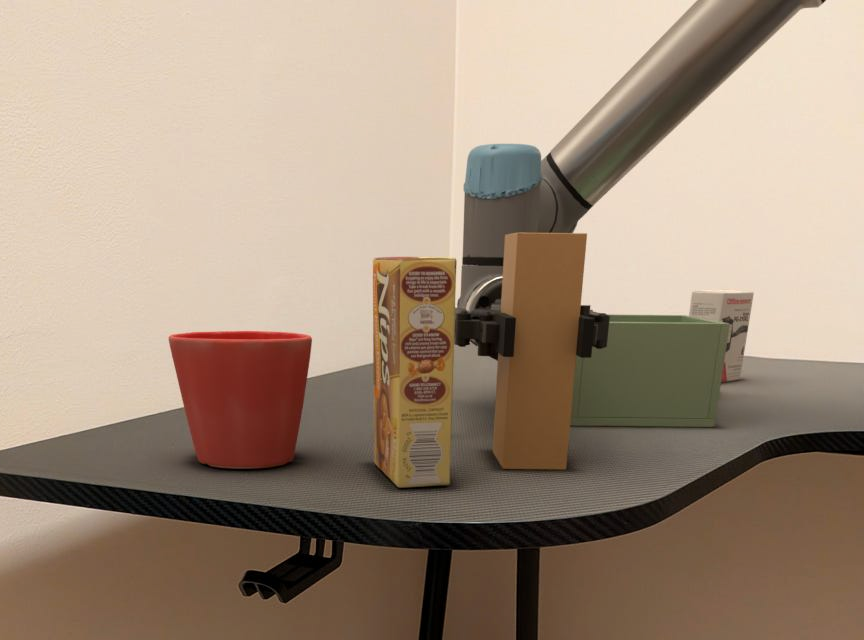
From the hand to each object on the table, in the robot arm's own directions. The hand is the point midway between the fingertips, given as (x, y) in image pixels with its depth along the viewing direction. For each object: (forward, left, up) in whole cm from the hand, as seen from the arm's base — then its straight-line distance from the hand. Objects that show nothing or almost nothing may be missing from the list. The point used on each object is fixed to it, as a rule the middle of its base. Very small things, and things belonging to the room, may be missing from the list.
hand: (548, 337), depth 66 cm
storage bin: (-14, -29, -10) cm, 34 cm away
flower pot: (+23, -4, -10) cm, 26 cm away
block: (0, -5, -10) cm, 11 cm away
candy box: (+10, +1, -10) cm, 14 cm away
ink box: (-34, -61, -10) cm, 71 cm away
